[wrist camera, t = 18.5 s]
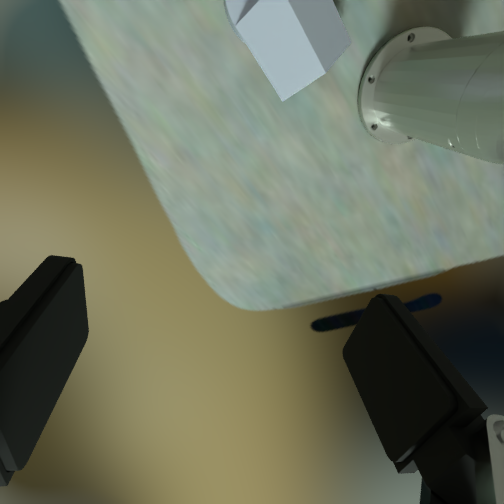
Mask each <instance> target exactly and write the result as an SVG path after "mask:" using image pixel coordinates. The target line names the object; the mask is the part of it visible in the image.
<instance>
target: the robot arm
mask: <svg viewBox="0 0 504 504" xmlns="http://www.w3.org/2000/svg"><path fill="white" fill-rule="evenodd" d="M407 38H408V40H407ZM369 77H370V81H369V82H368V78H369ZM358 109H359V115H360V119H361V122H362V124H363V126H364V127H365V129H366V130H367V131H368V133H369V134H370V135H371V136H373V137H374V138H376V139H377V140H380V141H382V142H385V143H389V144H402V143H407V142H410V141H413V140H415V139H418V140H421V141H425V142H428V143H431V144H434V145H437V146H440V147H443V148H446V149H449V150H452V151H455V152H459V153H462V154H465V155H468V156H471V157H474V158H477V159H481V160H484V161H487V162H491V163H496V164H504V31H500V32H494V33H487V34H481V35H474V36H468V37H461V38H455V39H452V38H451V37H450V36H449V35H448V34H447V33H446V32H444V31H442V30H440V29H439V28H434V27H417V28H413V29H409V30H407V31H404V32H402V33H400V34H398V35H396V36H395V37H393V38H392V39H390V40H389V41H388V42H387V43H386V44H385V45H384V46H382V47H381V48H380V49H379V51H378V52H377V53H376V55H375V56H374V57H373V58H372V60H371V62H370V63H369V65H368V67H367V69H366V71H365V73H364V76H363V78H362V81H361V85H360V89H359V95H358ZM372 124H373V126H372ZM371 126H372V127H371ZM88 329H89V328H88V318H87V308H86V298H85V287H84V277H83V268H82V265H81V264H78V263H76V261H75V259H74V258H70V257H62V256H53V255H51V256H48V257H47V258H46V259H45V260H44V261H43V263H41V264H40V265H39V267H38V268H37V269H36V270H35V271H34V272H33V273H32V274H31V275H30V276H29V277H28V278H27V279H26V281H25V282H24V283H23V284H22V285H21V286H20V287H19V288H18V289H17V291H15V292H14V294H13V295H12V296H11V297H10V298H9V299H8V300H5V301H2V302H0V486H7V485H8V483H9V481H10V480H11V478H12V476H13V474H14V472H15V471H18V470H22V469H23V468H24V466H25V465H26V463H27V462H28V460H29V458H30V456H31V454H32V452H33V449H34V447H35V445H36V443H37V441H38V439H39V437H40V435H41V433H42V431H43V429H44V427H45V425H46V423H47V421H48V419H49V417H50V415H51V413H52V411H53V408H54V407H55V404H56V402H57V400H58V398H59V396H60V394H61V392H62V390H63V388H64V386H65V384H66V382H67V380H68V378H69V376H70V374H71V372H72V370H73V368H74V366H75V363H76V362H77V359H78V357H79V355H80V353H81V351H82V349H83V347H84V345H85V343H86V341H87V338H88V332H89V330H88ZM343 358H344V360H345V362H346V364H347V367H348V369H349V372H350V374H351V376H352V378H353V380H354V383H355V385H356V387H357V389H358V392H359V394H360V396H361V398H362V400H363V403H364V405H365V407H366V410H367V412H368V414H369V416H370V419H371V421H372V423H373V425H374V427H375V430H376V432H377V434H378V436H379V439H380V441H381V443H382V445H383V447H384V450H385V452H386V454H387V456H388V457H389V459H390V460H391V461H393V463H394V465H395V467H396V469H397V472H398V473H415V472H416V471H417V470H419V472H420V474H421V476H422V482H421V493H420V504H504V416H500V415H491V416H489V417H488V418H487V419H486V420H484V419H483V418H482V416H481V414H482V413H483V412H484V411H485V410H486V409H487V408H488V407H487V406H486V405H485V404H484V402H483V401H482V400H481V399H480V397H479V396H478V395H477V394H476V393H475V391H474V390H473V389H472V388H471V386H470V385H469V384H468V383H467V381H466V380H465V379H464V378H463V377H462V375H461V374H460V373H459V372H458V370H457V369H456V368H455V367H454V365H453V364H452V363H451V362H450V361H449V359H448V358H447V357H446V356H445V354H444V353H443V352H442V351H441V349H440V348H439V347H438V346H437V345H436V344H435V342H434V341H433V340H432V338H431V337H430V336H429V335H428V334H427V332H426V331H425V330H424V329H423V327H422V326H421V325H420V324H419V322H418V321H417V320H416V319H415V318H414V316H413V315H412V314H411V313H410V311H409V310H408V309H407V308H406V306H405V305H404V304H403V303H402V302H401V300H400V299H399V298H398V297H397V296H394V295H386V294H378V295H376V296H375V297H374V298H372V299H371V300H370V302H369V304H368V306H367V307H366V309H365V311H364V313H363V314H362V316H361V318H360V320H359V321H358V323H357V325H356V327H355V328H354V330H353V332H352V334H351V335H350V337H349V339H348V341H347V342H346V344H345V346H344V348H343Z"/></svg>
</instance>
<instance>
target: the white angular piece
mask: <svg viewBox="0 0 504 504" xmlns="http://www.w3.org/2000/svg"><path fill="white" fill-rule="evenodd" d="M224 7H225V12H226V15H227V19H228V21H229V23H230V26H231V27H232V29H233V31H234V32H235V34H236V35H237V36H238V37H239V38H240V39H241V41H243V42H244V43H245V44H247V46H248V48H249V49H250V51H251V52H252V54H253V56H254V57H255V59H256V60H257V62H258V64H259V65H260V67H261V68H262V70H263V71H264V73H265V75H266V76H267V78H268V79H269V81H270V83H271V84H272V86H273V87H274V89H275V91H276V92H277V94H278V95H279V97H280V99H281V100H282V102H283V101H285V100H286V99H288V98H289V97H291V96H292V95H294V94H295V93H297V92H298V91H300V90H301V89H303V88H304V87H306V86H307V85H309V84H310V83H312V82H313V81H315V80H316V79H318V78H319V77H321V76H322V75H324V74H325V73H326V72H327V71H328V70H329V69H330V67H331V66H332V65H333V64H334V63H335V61H336V60H337V59H338V58H339V57H340V56H341V54H342V53H343V52H344V51H345V50H346V48H347V47H348V46H349V45H350V44H351V40H350V38H349V36H348V33H347V31H346V29H345V27H344V24H343V22H342V20H341V18H340V15H339V13H338V11H337V9H336V6H335V4H334V2H333V0H224Z"/></svg>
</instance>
